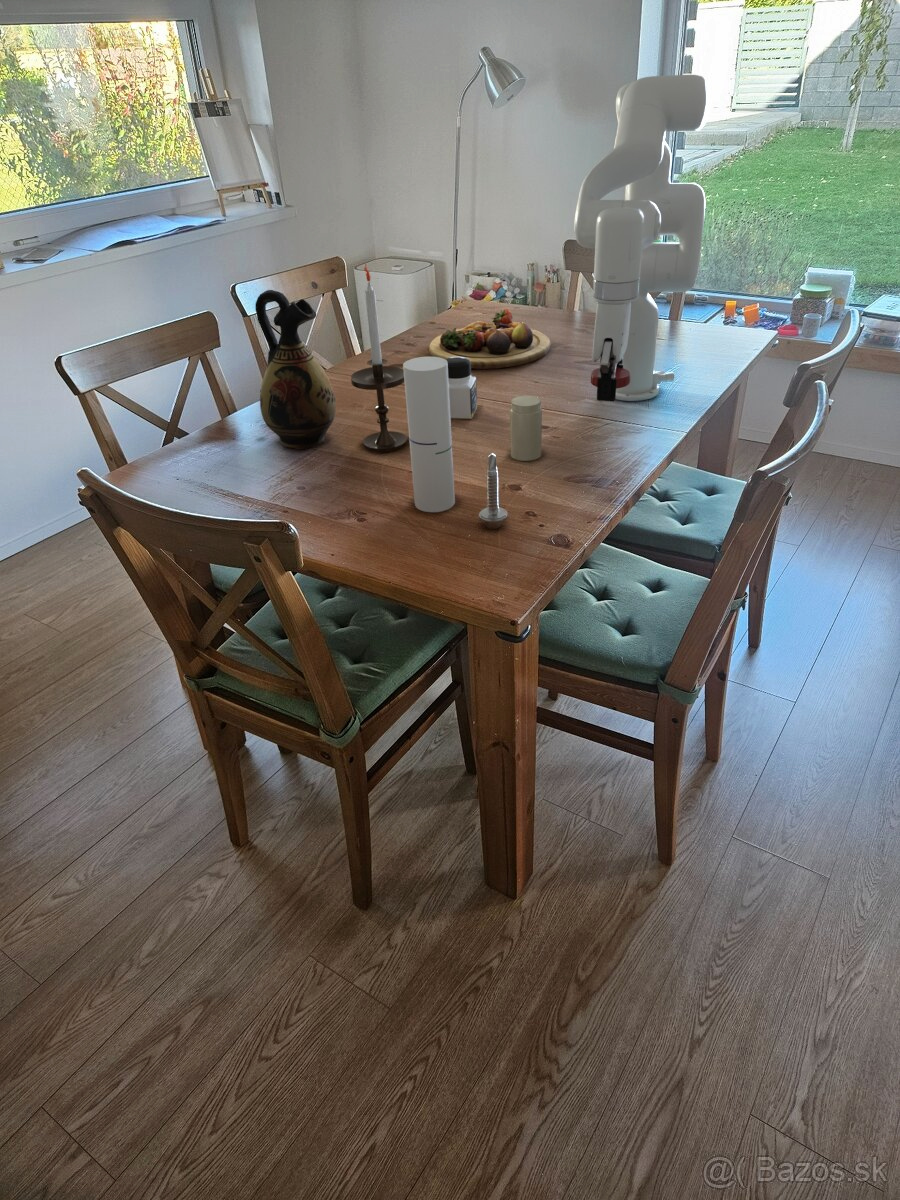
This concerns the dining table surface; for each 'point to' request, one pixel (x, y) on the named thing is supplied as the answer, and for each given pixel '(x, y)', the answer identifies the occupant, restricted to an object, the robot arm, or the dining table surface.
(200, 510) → the dining table surface
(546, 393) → the dining table surface
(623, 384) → the lid
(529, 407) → the jar
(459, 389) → the medicine bottle
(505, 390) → the dining table surface
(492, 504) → the screw
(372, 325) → the candlestick
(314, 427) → the ceramic jug
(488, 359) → the wooden plate
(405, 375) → the cylindrical container
